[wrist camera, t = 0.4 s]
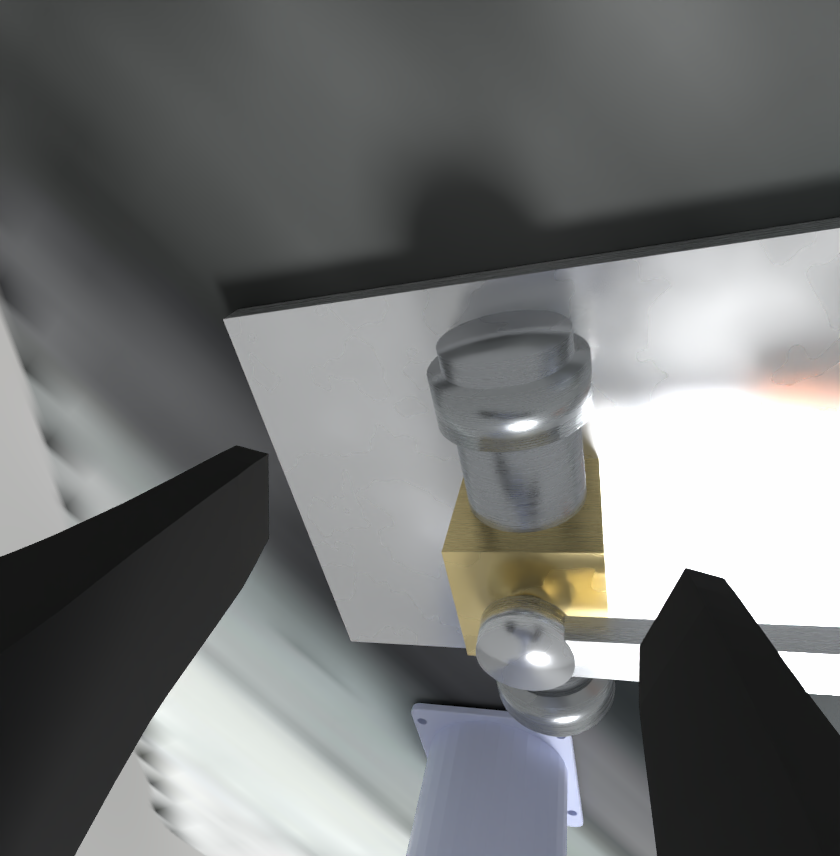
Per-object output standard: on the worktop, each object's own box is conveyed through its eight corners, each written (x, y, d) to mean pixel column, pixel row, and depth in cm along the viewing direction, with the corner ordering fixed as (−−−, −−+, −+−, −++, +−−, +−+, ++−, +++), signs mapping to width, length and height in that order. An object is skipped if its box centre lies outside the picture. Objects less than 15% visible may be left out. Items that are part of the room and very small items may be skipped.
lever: (489, 651, 17) (482, 693, 16) (474, 588, 16) (466, 629, 14) (1095, 687, 13) (1147, 748, 11) (1141, 605, 11) (1205, 665, 10)
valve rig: (910, 650, 20) (1012, 826, 16) (358, 624, 27) (310, 740, 22) (1051, 184, 13) (1334, 246, 8) (237, 309, 20) (127, 382, 15)
